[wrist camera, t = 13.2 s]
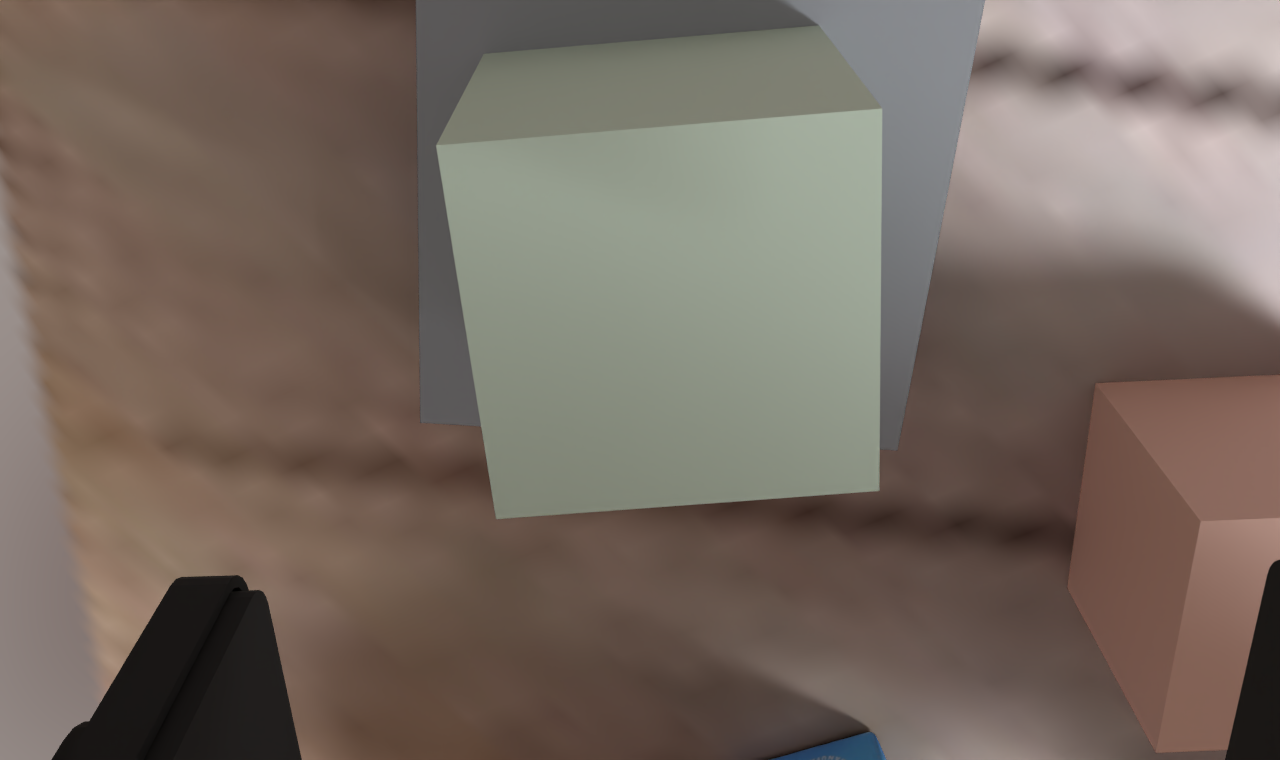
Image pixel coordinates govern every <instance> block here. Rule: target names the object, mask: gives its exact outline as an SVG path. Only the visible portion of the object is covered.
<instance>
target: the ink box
mask: <svg viewBox="0 0 1280 760" xmlns="http://www.w3.org/2000/svg"><path fill="white" fill-rule="evenodd" d="M770 760H886V758H885V755H884V753H883V751H882V748H881V746H880V744H879V742H878V740H877V737H876V736H875V734H873V733H872V732H866V733H863V734H859V735H856V736H852V737H849V738H845V739H841V740H837V741H834V742H831V743H828V744H824V745H820V746H816V747H813V748H810V749H806V750H803V751H799V752H796V753H792V754H789V755H785V756H782V757H778V758H774V759H770Z"/></svg>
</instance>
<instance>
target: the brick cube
mask: <svg viewBox="0 0 1280 760" xmlns="http://www.w3.org/2000/svg"><path fill="white" fill-rule="evenodd" d="M1277 560H1280V375H1259V376H1237V377H1216V378H1194V379H1172V380H1151V381H1129V382H1107V383H1095V390H1094V397H1093V405H1092V412H1091V419H1090V426H1089V434H1088V441H1087V448H1086V455H1085V463H1084V470H1083V477H1082V484H1081V491H1080V499H1079V506H1078V513H1077V520H1076V528H1075V535H1074V542H1073V549H1072V557H1071V564H1070V571H1069V578H1068V585H1067V589H1068V590H1069V592H1070V594H1071V596H1072V598H1073V600H1074V602H1075V604H1076V605H1077V607H1078V609H1079V611H1080V613H1081V615H1082V617H1083V618H1084V620H1085V622H1086V624H1087V626H1088V628H1089V630H1090V632H1091V633H1092V635H1093V637H1094V639H1095V641H1096V643H1097V645H1098V646H1099V648H1100V650H1101V652H1102V654H1103V656H1104V658H1105V659H1106V661H1107V663H1108V665H1109V667H1110V669H1111V671H1112V673H1113V674H1114V676H1115V678H1116V680H1117V682H1118V684H1119V686H1120V687H1121V689H1122V691H1123V693H1124V695H1125V697H1126V699H1127V700H1128V702H1129V704H1130V706H1131V708H1132V710H1133V712H1134V714H1135V715H1136V717H1137V719H1138V721H1139V723H1140V725H1141V727H1142V728H1143V730H1144V732H1145V734H1146V736H1147V738H1148V740H1149V741H1150V743H1151V745H1152V747H1153V749H1154V751H1155V753H1167V752H1191V751H1215V750H1228V745H1229V741H1230V736H1231V732H1232V728H1233V723H1234V719H1235V714H1236V710H1237V706H1238V701H1239V697H1240V692H1241V688H1242V684H1243V679H1244V675H1245V670H1246V666H1247V661H1248V657H1249V653H1250V648H1251V644H1252V639H1253V635H1254V631H1255V626H1256V622H1257V617H1258V613H1259V609H1260V604H1261V600H1262V595H1263V591H1264V587H1265V582H1266V578H1267V574H1268V571H1269V568H1270V566H1271V565H1272V564H1273V562H1275V561H1277Z"/></svg>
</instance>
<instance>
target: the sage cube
mask: <svg viewBox="0 0 1280 760" xmlns="http://www.w3.org/2000/svg"><path fill="white" fill-rule="evenodd" d="M436 148H437V154H438V160H439V167H440V173H441V179H442V185H443V192H444V198H445V204H446V210H447V217H448V223H449V229H450V235H451V241H452V248H453V254H454V260H455V266H456V273H457V279H458V285H459V291H460V298H461V304H462V310H463V316H464V323H465V329H466V335H467V341H468V347H469V354H470V360H471V366H472V372H473V379H474V385H475V391H476V397H477V404H478V410H479V416H480V422H481V429H482V435H483V441H484V447H485V453H486V460H487V466H488V472H489V478H490V485H491V491H492V497H493V503H494V510H495V516H496V519H506V518H520V517H533V516H547V515H560V514H574V513H588V512H601V511H615V510H628V509H642V508H655V507H669V506H682V505H696V504H709V503H723V502H737V501H750V500H764V499H777V498H791V497H804V496H818V495H831V494H845V493H859V492H872V491H879V461H880V338H881V214H882V107H881V106H880V105H879V103H878V102H877V101H876V99H875V98H874V97H873V96H872V94H871V93H870V92H869V90H868V89H867V88H866V86H865V85H864V84H863V82H862V81H861V80H860V78H859V77H858V76H857V75H856V73H855V72H854V71H853V69H852V68H851V67H850V65H849V64H848V63H847V61H846V60H845V59H844V57H843V56H842V55H841V54H840V52H839V51H838V50H837V48H836V47H835V46H834V44H833V43H832V42H831V40H830V39H829V38H828V36H827V35H826V34H825V33H824V31H823V30H822V29H821V27H820V26H819V25H817V26H805V27H793V28H781V29H769V30H758V31H746V32H734V33H722V34H711V35H699V36H687V37H675V38H664V39H652V40H640V41H628V42H617V43H605V44H593V45H581V46H570V47H558V48H546V49H534V50H523V51H511V52H499V53H487V54H483V56H482V58H481V60H480V62H479V64H478V66H477V68H476V70H475V72H474V74H473V76H472V77H471V79H470V81H469V83H468V85H467V87H466V89H465V91H464V93H463V95H462V97H461V99H460V101H459V102H458V104H457V106H456V108H455V110H454V112H453V114H452V116H451V118H450V120H449V122H448V124H447V125H446V127H445V129H444V131H443V133H442V135H441V137H440V139H439V141H438V143H437V145H436Z"/></svg>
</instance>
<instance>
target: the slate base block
mask: <svg viewBox="0 0 1280 760" xmlns="http://www.w3.org/2000/svg"><path fill="white" fill-rule="evenodd" d="M984 3H985V0H416V63H417V159H418V255H419V351H420V423H433V424H450V425H467V426H481V422H480V416H479V410H478V404H477V397H476V391H475V385H474V379H473V372H472V366H471V360H470V354H469V347H468V341H467V335H466V329H465V323H464V316H463V310H462V304H461V298H460V291H459V285H458V279H457V273H456V266H455V260H454V254H453V248H452V241H451V235H450V229H449V223H448V217H447V210H446V204H445V198H444V192H443V185H442V179H441V173H440V167H439V160H438V154H437V148H436V145H437V143H438V141H439V139H440V137H441V135H442V133H443V131H444V129H445V127H446V125H447V124H448V122H449V120H450V118H451V116H452V114H453V112H454V110H455V108H456V106H457V104H458V102H459V101H460V99H461V97H462V95H463V93H464V91H465V89H466V87H467V85H468V83H469V81H470V79H471V77H472V76H473V74H474V72H475V70H476V68H477V66H478V64H479V62H480V60H481V58H482V56H483V54H487V53H499V52H511V51H523V50H534V49H546V48H558V47H570V46H581V45H593V44H605V43H617V42H628V41H640V40H652V39H664V38H675V37H687V36H699V35H711V34H722V33H734V32H746V31H758V30H769V29H781V28H793V27H805V26H817V25H819V26H820V27H821V29H822V30H823V31H824V33H825V34H826V35H827V36H828V38H829V39H830V40H831V42H832V43H833V44H834V46H835V47H836V48H837V50H838V51H839V52H840V54H841V55H842V56H843V57H844V59H845V60H846V61H847V63H848V64H849V65H850V67H851V68H852V69H853V71H854V72H855V73H856V75H857V76H858V77H859V78H860V80H861V81H862V82H863V84H864V85H865V86H866V88H867V89H868V90H869V92H870V93H871V94H872V96H873V97H874V98H875V99H876V101H877V102H878V103H879V105H880V106H881V107H882V214H881V338H880V450H898V445H899V440H900V435H901V429H902V424H903V419H904V414H905V409H906V404H907V399H908V393H909V388H910V383H911V378H912V373H913V368H914V363H915V357H916V352H917V347H918V342H919V337H920V332H921V327H922V322H923V316H924V311H925V306H926V301H927V296H928V291H929V286H930V280H931V275H932V270H933V265H934V260H935V255H936V250H937V244H938V239H939V234H940V229H941V224H942V219H943V214H944V208H945V203H946V198H947V193H948V188H949V183H950V178H951V172H952V167H953V162H954V157H955V152H956V147H957V142H958V136H959V131H960V126H961V121H962V116H963V111H964V106H965V100H966V95H967V90H968V85H969V80H970V75H971V70H972V64H973V59H974V54H975V49H976V44H977V39H978V34H979V29H980V23H981V18H982V13H983V8H984Z"/></svg>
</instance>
